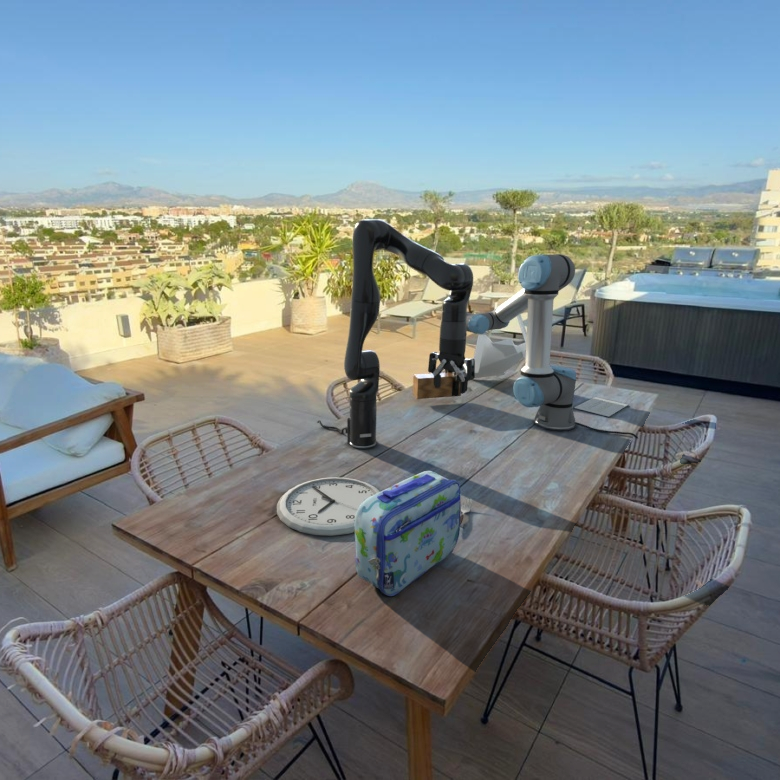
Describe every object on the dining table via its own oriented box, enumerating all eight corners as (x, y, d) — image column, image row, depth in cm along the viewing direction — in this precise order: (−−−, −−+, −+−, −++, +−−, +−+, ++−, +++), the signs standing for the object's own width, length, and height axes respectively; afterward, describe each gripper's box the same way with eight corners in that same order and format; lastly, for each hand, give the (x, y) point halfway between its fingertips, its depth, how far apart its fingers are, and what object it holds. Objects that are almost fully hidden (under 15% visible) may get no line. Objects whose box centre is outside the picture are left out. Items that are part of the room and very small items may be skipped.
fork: (449, 533, 130) (450, 526, 130) (463, 503, 145) (463, 496, 144) (459, 535, 129) (460, 528, 129) (472, 505, 144) (473, 498, 143)
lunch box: (383, 609, 104) (384, 516, 98) (348, 583, 111) (347, 495, 105) (463, 555, 122) (469, 473, 115) (429, 536, 129) (432, 458, 123)
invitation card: (608, 416, 214) (573, 407, 224) (608, 416, 214) (573, 408, 224) (628, 404, 229) (594, 396, 238) (628, 405, 229) (594, 397, 238)
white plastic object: (484, 420, 263) (463, 398, 239) (465, 347, 285) (445, 319, 261) (556, 396, 251) (542, 370, 226) (530, 322, 273) (515, 290, 248)
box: (455, 391, 235) (456, 371, 232) (460, 396, 229) (462, 375, 226) (412, 394, 229) (413, 374, 226) (417, 399, 224) (418, 378, 221)
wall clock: (392, 527, 129) (268, 531, 127) (391, 533, 130) (269, 537, 127) (383, 473, 158) (282, 475, 155) (383, 478, 158) (282, 480, 156)
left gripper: (424, 334, 150) (422, 388, 155) (468, 341, 142) (465, 398, 147) (438, 330, 156) (436, 383, 160) (481, 337, 148) (477, 392, 152)
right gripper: (438, 337, 231) (436, 387, 239) (455, 347, 214) (452, 400, 221) (454, 336, 233) (451, 386, 241) (472, 346, 216) (468, 399, 223)
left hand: (450, 390), depth 154 cm, fingers open, 8 cm apart
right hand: (452, 393), depth 231 cm, fingers closed on box, 6 cm apart
